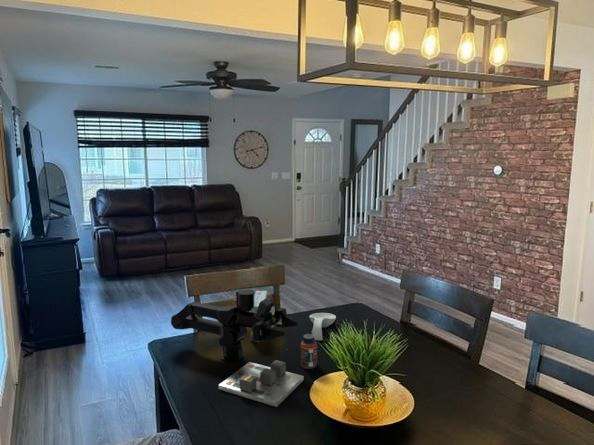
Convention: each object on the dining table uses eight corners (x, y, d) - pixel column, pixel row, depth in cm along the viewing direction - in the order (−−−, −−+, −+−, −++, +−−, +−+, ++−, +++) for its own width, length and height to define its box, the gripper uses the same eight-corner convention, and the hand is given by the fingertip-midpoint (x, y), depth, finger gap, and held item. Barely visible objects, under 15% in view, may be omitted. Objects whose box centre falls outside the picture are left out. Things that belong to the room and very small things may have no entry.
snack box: (263, 341, 182) (263, 306, 179) (250, 341, 182) (249, 306, 179) (267, 321, 203) (267, 289, 200) (255, 321, 203) (254, 289, 200)
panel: (218, 389, 146) (218, 384, 146) (249, 365, 162) (249, 361, 161) (276, 407, 136) (276, 402, 135) (303, 380, 151) (303, 375, 151)
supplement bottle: (315, 370, 158) (315, 340, 156) (299, 368, 159) (299, 338, 157) (318, 362, 164) (318, 333, 162) (302, 361, 165) (302, 332, 163)
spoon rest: (311, 318, 206) (311, 304, 205) (336, 320, 204) (337, 305, 203) (303, 340, 184) (303, 323, 182) (331, 342, 181) (331, 325, 180)
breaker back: (270, 373, 152) (270, 364, 152) (275, 369, 155) (275, 360, 155) (280, 376, 150) (280, 366, 150) (285, 372, 153) (285, 362, 153)
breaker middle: (260, 382, 147) (260, 372, 146) (265, 377, 150) (265, 368, 149) (270, 385, 145) (270, 375, 144) (276, 380, 148) (276, 370, 147)
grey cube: (240, 389, 143) (239, 378, 142) (246, 384, 146) (245, 373, 145) (250, 392, 141) (250, 381, 140) (256, 387, 144) (256, 376, 143)
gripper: (237, 307, 151) (277, 315, 143) (266, 291, 167) (304, 298, 160) (238, 338, 153) (277, 347, 145) (267, 319, 169) (303, 327, 162)
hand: (291, 328), depth 153 cm, fingers open, 9 cm apart
